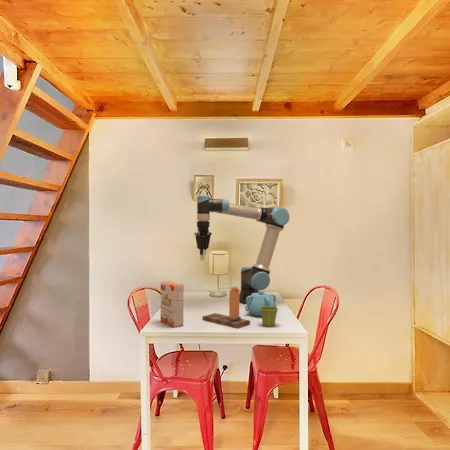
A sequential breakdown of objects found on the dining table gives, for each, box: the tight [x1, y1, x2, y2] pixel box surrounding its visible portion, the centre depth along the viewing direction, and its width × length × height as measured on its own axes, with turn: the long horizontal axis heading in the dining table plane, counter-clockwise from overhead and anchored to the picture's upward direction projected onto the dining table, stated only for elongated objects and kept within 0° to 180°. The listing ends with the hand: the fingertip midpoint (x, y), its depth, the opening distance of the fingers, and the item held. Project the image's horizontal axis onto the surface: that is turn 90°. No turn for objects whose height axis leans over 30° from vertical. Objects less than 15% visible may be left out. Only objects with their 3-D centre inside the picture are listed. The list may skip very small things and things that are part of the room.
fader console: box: [202, 312, 251, 329], centre depth 198 cm, size 24×10×2 cm, turn 50°
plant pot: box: [260, 306, 279, 327], centre depth 193 cm, size 9×9×9 cm
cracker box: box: [160, 280, 184, 328], centre depth 193 cm, size 14×6×21 cm, turn 38°
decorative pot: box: [244, 290, 277, 318], centre depth 216 cm, size 16×16×14 cm
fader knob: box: [228, 286, 242, 321], centre depth 194 cm, size 4×6×16 cm, turn 140°
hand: (202, 260), depth 227 cm, fingers closed
